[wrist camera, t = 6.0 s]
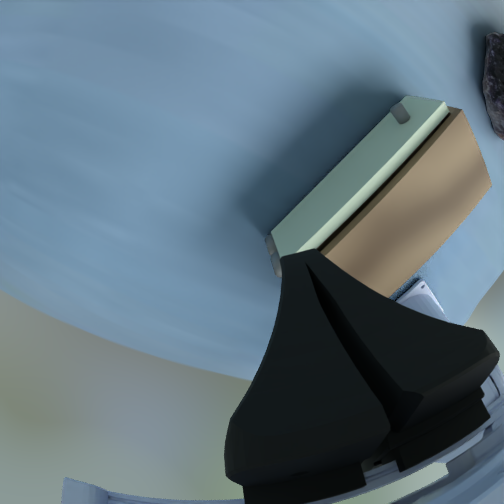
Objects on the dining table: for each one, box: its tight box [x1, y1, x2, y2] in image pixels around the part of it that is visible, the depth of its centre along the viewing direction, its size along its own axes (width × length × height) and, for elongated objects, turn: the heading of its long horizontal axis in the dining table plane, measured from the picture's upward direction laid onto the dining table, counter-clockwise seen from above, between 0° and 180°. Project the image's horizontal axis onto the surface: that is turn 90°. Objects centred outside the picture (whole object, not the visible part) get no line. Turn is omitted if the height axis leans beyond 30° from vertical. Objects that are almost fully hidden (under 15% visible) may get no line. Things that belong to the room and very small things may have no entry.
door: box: [265, 96, 450, 278], centre depth 16 cm, size 2×16×4 cm, turn 138°
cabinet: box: [316, 106, 492, 298], centre depth 18 cm, size 7×16×5 cm, turn 139°
